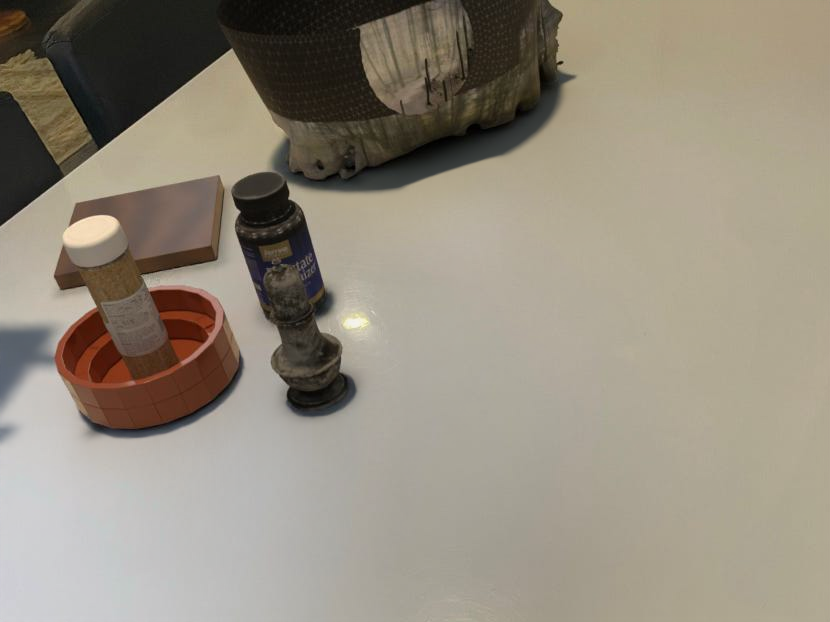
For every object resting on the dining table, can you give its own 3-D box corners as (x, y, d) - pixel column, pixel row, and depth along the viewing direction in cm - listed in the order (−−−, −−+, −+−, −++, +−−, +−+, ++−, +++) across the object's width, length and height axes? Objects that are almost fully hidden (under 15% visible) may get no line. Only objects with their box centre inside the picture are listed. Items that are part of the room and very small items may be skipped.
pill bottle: (284, 330, 86) (244, 211, 77) (250, 305, 89) (208, 189, 81) (340, 299, 88) (307, 180, 79) (304, 276, 91) (269, 159, 83)
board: (60, 289, 96) (53, 276, 95) (81, 216, 105) (75, 202, 104) (216, 259, 95) (211, 245, 94) (224, 188, 105) (219, 174, 104)
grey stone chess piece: (274, 385, 81) (226, 253, 72) (339, 360, 82) (299, 226, 73) (295, 422, 77) (248, 288, 68) (362, 396, 78) (324, 260, 69)
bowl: (67, 446, 80) (41, 402, 76) (91, 346, 89) (68, 302, 85) (237, 414, 79) (218, 369, 76) (243, 317, 88) (227, 272, 85)
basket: (588, 156, 98) (579, -28, 86) (255, 211, 101) (199, 40, 88) (558, 47, 116) (547, -118, 103) (275, 96, 118) (231, -60, 106)
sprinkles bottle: (136, 363, 85) (65, 218, 75) (186, 354, 85) (122, 207, 74) (129, 395, 82) (54, 249, 72) (181, 386, 82) (113, 238, 72)
